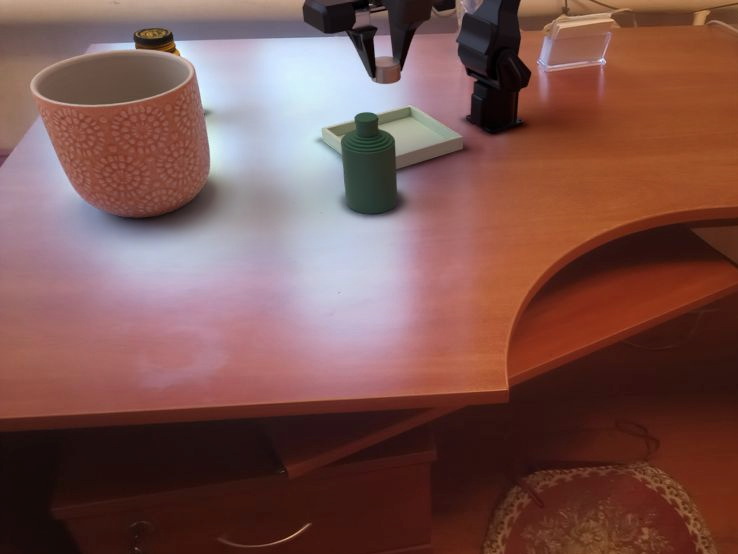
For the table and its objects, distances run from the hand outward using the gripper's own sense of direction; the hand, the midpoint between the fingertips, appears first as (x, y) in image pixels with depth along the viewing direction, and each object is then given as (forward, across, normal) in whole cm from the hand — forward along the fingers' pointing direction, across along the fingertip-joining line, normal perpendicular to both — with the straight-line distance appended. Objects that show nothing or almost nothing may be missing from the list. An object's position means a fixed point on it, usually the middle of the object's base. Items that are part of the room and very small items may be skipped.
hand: (385, 74), depth 93 cm
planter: (+11, -31, +7) cm, 34 cm away
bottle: (+11, -9, -10) cm, 17 cm away
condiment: (+11, -21, +28) cm, 37 cm away
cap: (-1, 0, 0) cm, 1 cm away
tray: (+11, +2, +2) cm, 12 cm away
